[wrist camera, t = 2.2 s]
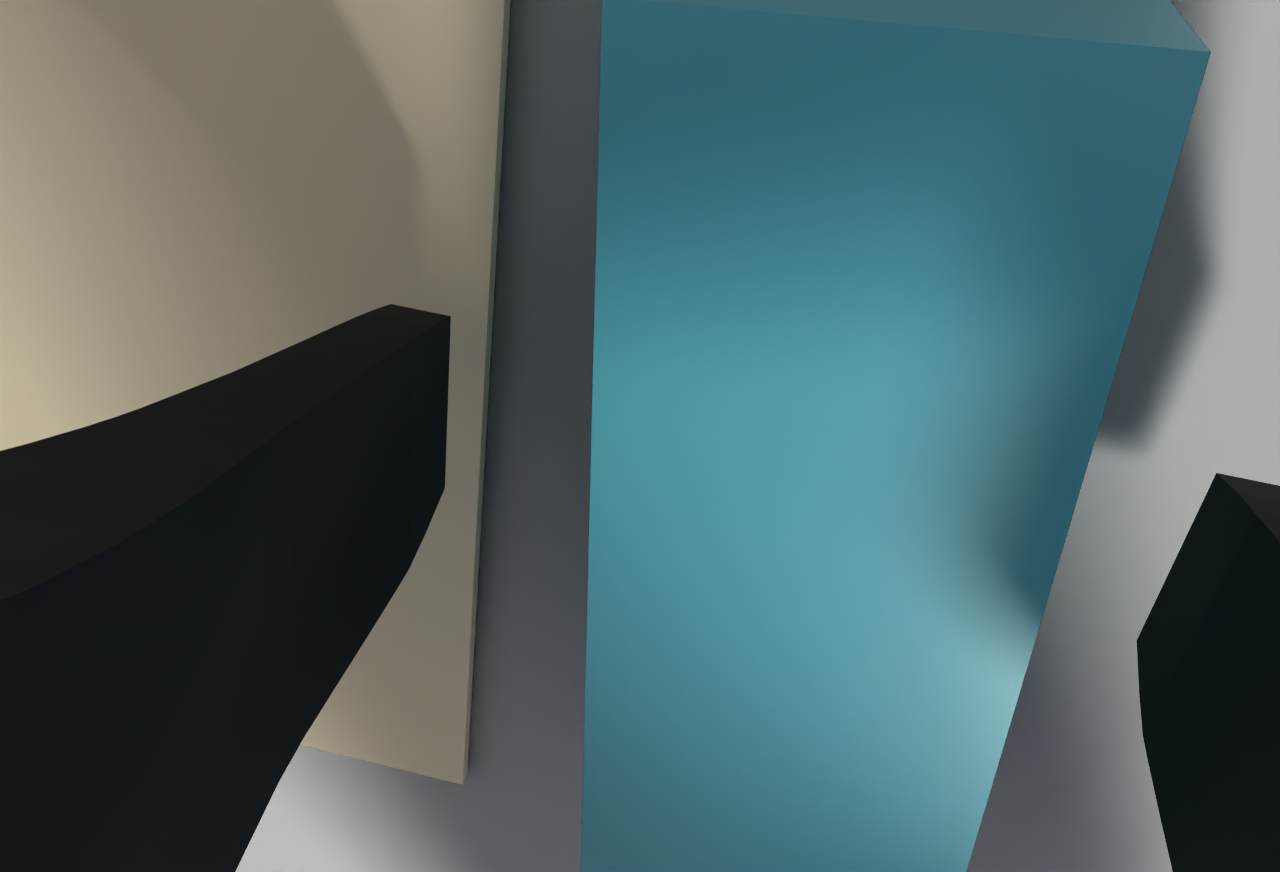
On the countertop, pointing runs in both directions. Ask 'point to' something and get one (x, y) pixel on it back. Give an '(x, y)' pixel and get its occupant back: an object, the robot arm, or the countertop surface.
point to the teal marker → (848, 402)
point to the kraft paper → (263, 254)
